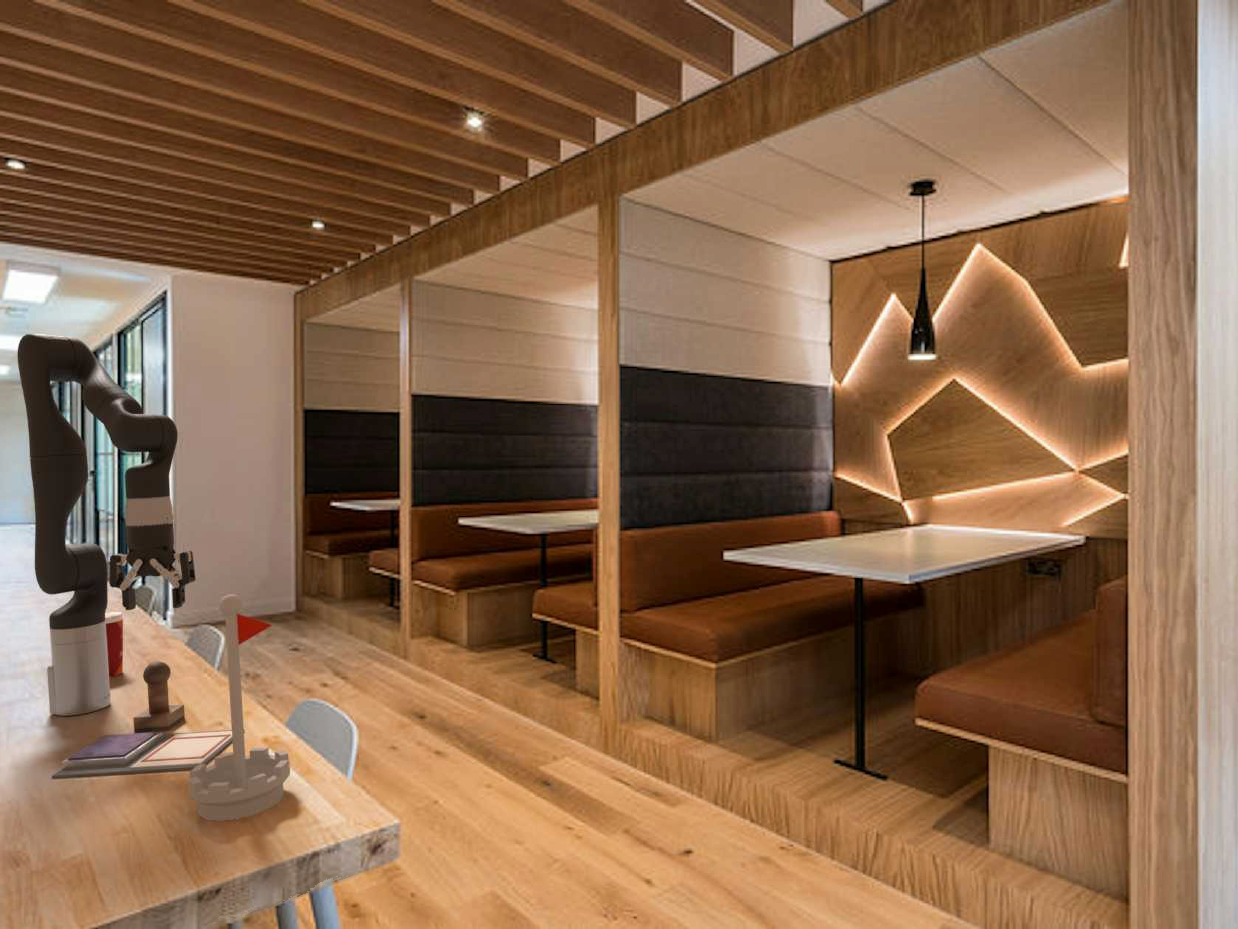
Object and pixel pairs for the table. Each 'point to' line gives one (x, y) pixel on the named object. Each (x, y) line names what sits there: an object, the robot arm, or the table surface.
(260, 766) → the flag stand
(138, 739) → the ink pad
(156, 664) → the stamp
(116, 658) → the paper cup
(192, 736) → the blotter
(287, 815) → the table surface
